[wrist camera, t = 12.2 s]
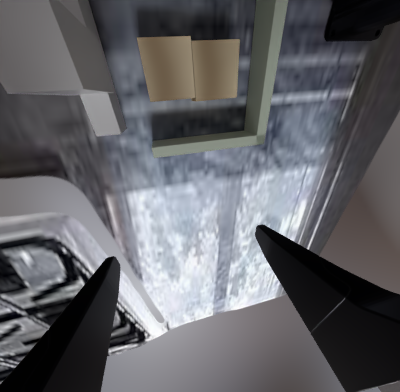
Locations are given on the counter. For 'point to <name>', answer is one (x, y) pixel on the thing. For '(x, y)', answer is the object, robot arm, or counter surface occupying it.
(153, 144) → the green u-shaped frame
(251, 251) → the counter surface
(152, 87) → the chip
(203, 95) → the chip
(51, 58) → the grey stepped block
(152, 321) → the counter surface
